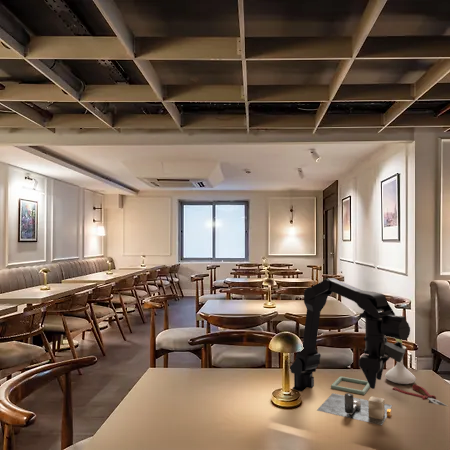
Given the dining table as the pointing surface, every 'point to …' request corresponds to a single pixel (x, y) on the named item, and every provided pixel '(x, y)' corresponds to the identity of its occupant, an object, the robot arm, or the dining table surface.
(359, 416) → the base
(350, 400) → the crank
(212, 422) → the dining table surface
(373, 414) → the block
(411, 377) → the flower in vase
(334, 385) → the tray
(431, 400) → the pliers
